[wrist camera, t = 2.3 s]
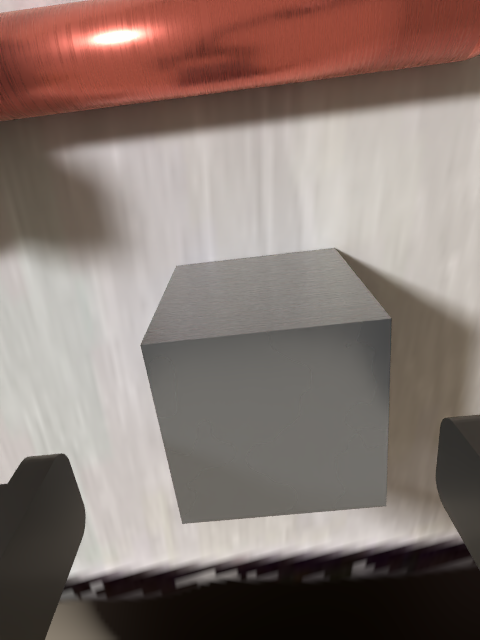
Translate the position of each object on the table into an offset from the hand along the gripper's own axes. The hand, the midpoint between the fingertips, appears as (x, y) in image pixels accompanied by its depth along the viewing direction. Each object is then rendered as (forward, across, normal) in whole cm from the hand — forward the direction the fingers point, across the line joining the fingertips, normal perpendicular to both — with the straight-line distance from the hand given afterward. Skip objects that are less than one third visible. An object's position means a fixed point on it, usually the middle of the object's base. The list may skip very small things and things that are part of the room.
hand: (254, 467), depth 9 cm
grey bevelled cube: (+7, -1, 0) cm, 7 cm away
